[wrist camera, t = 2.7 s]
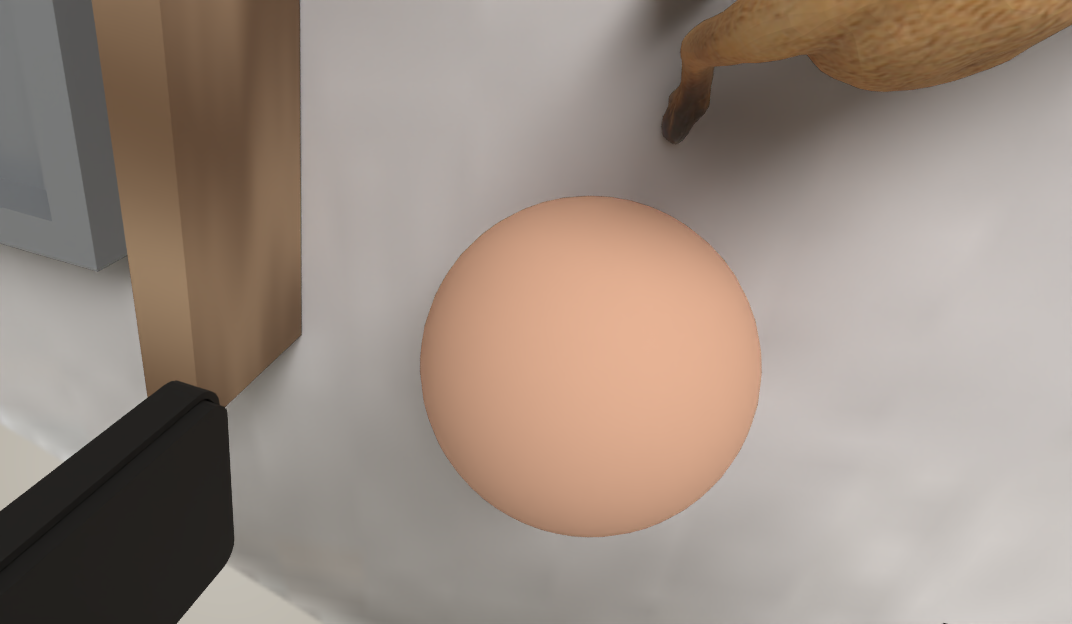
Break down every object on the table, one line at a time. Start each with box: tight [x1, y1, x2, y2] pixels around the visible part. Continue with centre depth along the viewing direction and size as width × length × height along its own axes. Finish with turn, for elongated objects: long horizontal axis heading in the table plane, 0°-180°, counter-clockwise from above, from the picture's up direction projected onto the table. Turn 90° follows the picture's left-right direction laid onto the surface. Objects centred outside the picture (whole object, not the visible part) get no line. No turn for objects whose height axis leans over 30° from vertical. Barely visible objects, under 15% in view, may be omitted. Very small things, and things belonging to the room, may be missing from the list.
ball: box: [420, 196, 762, 537], centre depth 13 cm, size 6×6×6 cm
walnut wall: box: [92, 0, 301, 407], centre depth 14 cm, size 13×1×4 cm, turn 171°
